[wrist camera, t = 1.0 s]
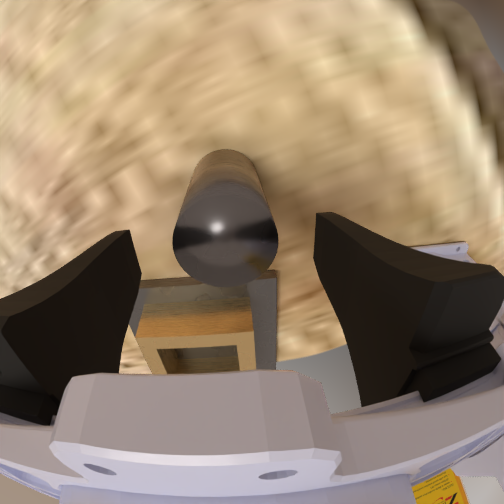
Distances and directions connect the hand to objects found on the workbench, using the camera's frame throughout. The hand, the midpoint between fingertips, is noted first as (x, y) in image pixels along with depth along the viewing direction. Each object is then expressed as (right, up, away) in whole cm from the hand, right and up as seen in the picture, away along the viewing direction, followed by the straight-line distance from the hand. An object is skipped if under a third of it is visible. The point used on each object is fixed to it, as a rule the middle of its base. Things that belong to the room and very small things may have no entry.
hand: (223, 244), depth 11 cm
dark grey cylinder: (-1, +4, +7) cm, 8 cm away
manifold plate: (-3, -10, +15) cm, 18 cm away
